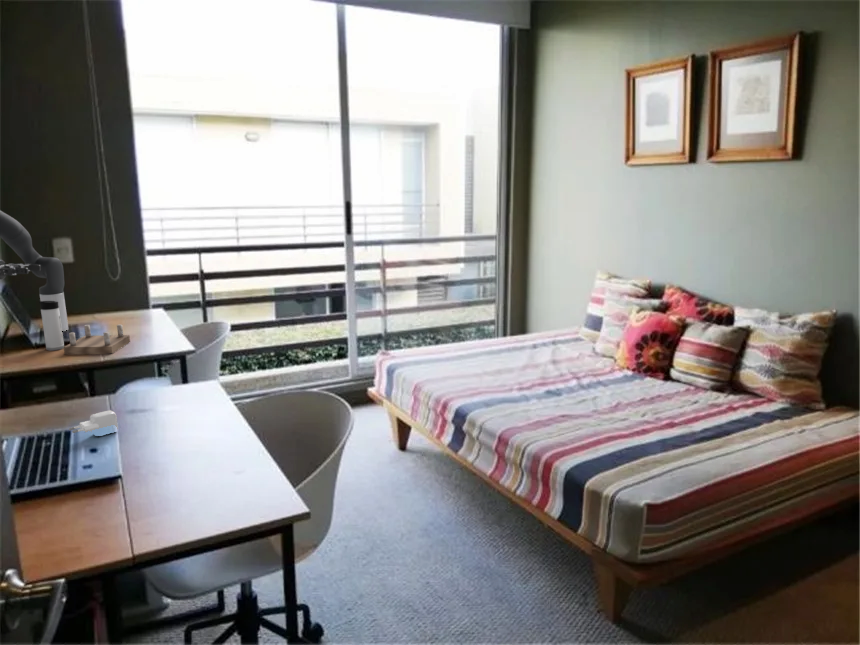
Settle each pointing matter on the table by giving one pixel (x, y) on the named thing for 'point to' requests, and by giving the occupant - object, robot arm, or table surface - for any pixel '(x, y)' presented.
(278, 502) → the table surface
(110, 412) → the power adapter
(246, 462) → the table surface
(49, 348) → the travel mug
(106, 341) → the peg stand
